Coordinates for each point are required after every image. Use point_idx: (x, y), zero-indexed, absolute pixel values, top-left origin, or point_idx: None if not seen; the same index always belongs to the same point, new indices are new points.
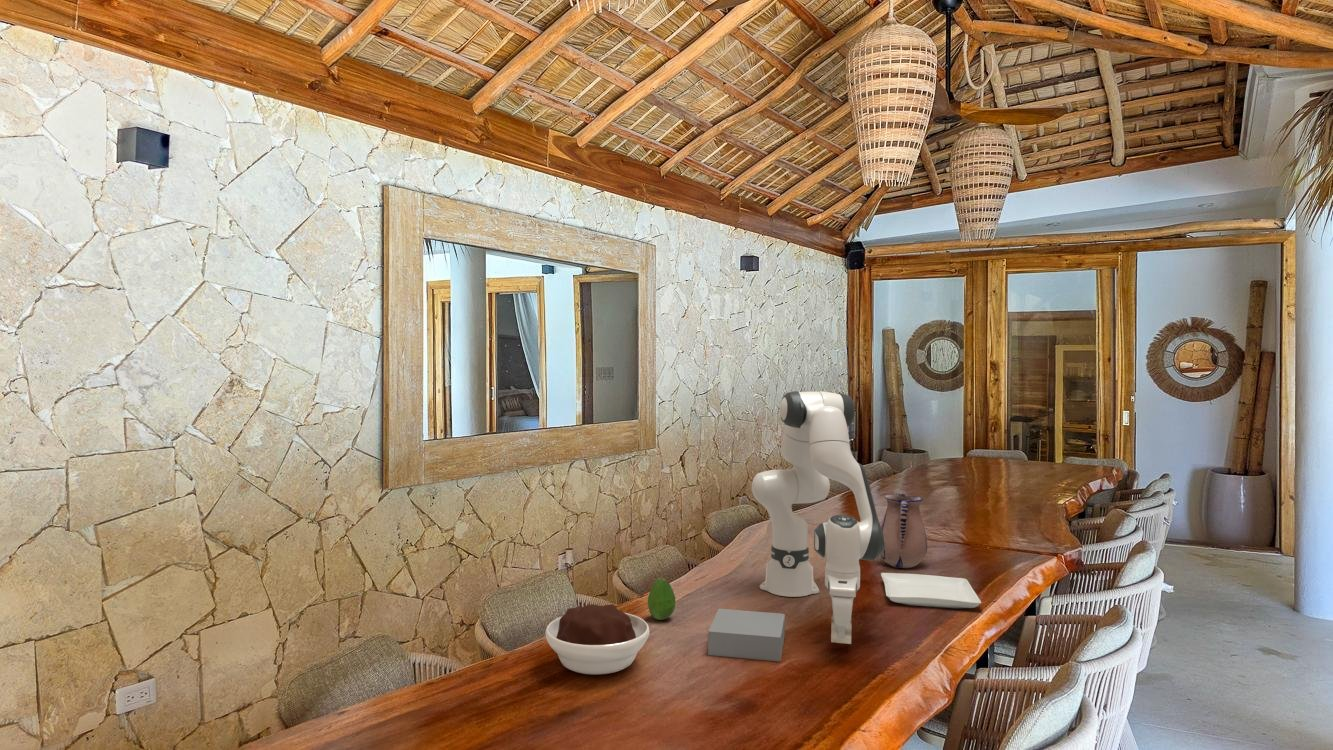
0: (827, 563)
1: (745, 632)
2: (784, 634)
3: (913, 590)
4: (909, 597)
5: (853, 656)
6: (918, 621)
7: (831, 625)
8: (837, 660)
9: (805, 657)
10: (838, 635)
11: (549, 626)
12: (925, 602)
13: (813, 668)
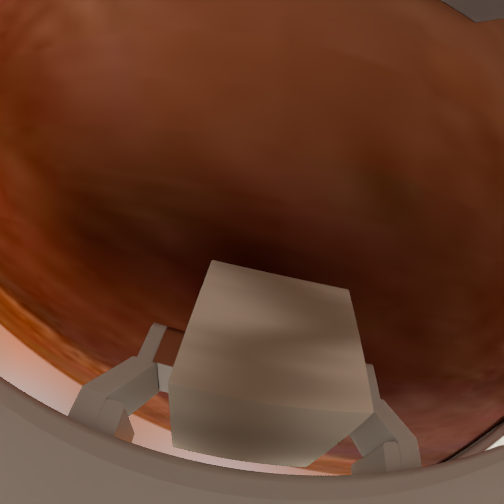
0: None
1: None
2: (468, 9)
3: None
4: (487, 448)
5: (169, 312)
6: (424, 447)
7: (176, 359)
8: (103, 234)
9: (110, 65)
10: (149, 334)
11: None
12: (469, 453)
13: (10, 116)
